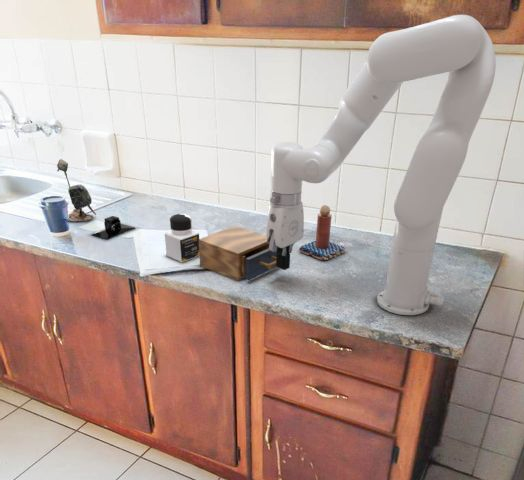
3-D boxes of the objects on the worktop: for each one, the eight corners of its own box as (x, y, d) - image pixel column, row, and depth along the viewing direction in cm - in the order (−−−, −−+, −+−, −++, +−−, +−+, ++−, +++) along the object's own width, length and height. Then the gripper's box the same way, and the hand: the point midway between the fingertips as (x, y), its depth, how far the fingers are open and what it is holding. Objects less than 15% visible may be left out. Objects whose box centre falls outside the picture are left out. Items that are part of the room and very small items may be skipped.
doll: (331, 245, 154) (335, 205, 147) (323, 249, 151) (327, 208, 144) (320, 242, 156) (323, 202, 149) (312, 246, 153) (315, 205, 146)
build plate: (106, 240, 160) (104, 225, 158) (90, 235, 164) (88, 221, 161) (135, 228, 169) (133, 214, 167) (119, 224, 172) (117, 210, 170)
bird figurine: (86, 225, 171) (75, 163, 160) (60, 220, 175) (47, 159, 164) (102, 218, 177) (92, 157, 166) (76, 213, 181) (65, 153, 170)
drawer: (293, 269, 142) (294, 249, 138) (261, 285, 133) (261, 264, 130) (245, 252, 151) (245, 232, 148) (212, 266, 143) (211, 246, 139)
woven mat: (346, 252, 154) (347, 246, 153) (324, 262, 148) (324, 256, 147) (320, 243, 161) (320, 237, 159) (297, 252, 154) (297, 245, 153)
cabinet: (273, 264, 147) (274, 238, 142) (238, 281, 137) (238, 253, 133) (235, 250, 155) (235, 225, 150) (199, 265, 145) (198, 239, 141)
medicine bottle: (182, 263, 146) (178, 222, 140) (166, 256, 151) (162, 215, 144) (200, 255, 151) (198, 215, 144) (184, 249, 155) (182, 210, 148)
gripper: (278, 208, 118) (276, 281, 128) (316, 194, 127) (311, 263, 137) (253, 201, 122) (253, 272, 132) (292, 188, 131) (289, 255, 142)
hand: (282, 267), depth 135 cm, fingers closed
